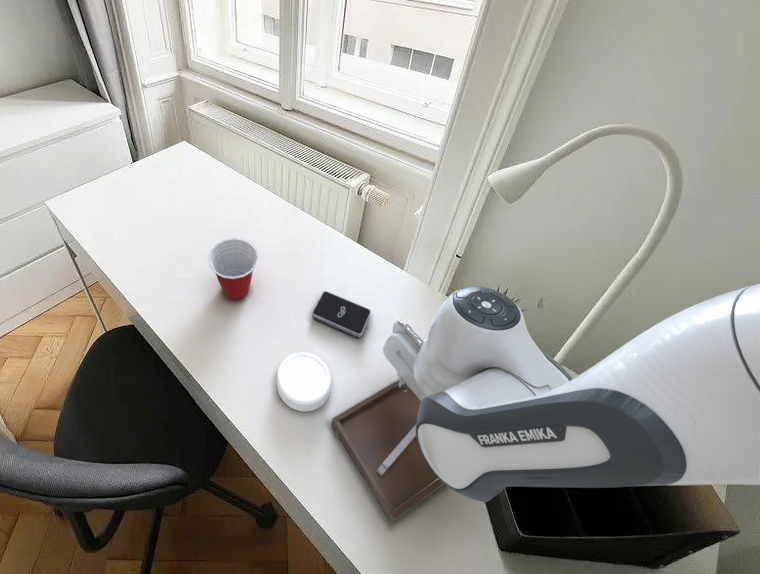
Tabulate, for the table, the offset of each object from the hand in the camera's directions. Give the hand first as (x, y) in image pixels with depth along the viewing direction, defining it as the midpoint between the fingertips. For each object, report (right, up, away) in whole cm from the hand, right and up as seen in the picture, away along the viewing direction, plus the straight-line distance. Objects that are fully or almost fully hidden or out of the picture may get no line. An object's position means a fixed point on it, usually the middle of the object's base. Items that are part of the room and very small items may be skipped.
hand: (424, 413), depth 66 cm
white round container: (-19, -1, +11) cm, 22 cm away
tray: (0, -5, +4) cm, 7 cm away
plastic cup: (-32, +13, +28) cm, 45 cm away
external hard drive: (-9, +9, +22) cm, 26 cm away
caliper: (0, -5, +4) cm, 7 cm away
